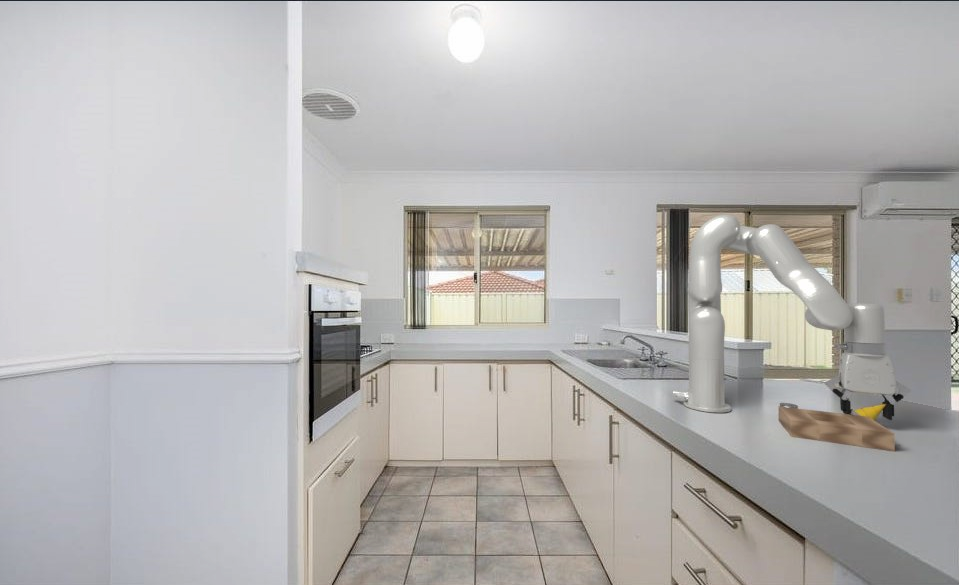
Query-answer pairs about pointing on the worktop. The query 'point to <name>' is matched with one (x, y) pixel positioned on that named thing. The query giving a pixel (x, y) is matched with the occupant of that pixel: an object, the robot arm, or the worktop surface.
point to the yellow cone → (869, 411)
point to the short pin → (788, 405)
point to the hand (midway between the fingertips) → (866, 415)
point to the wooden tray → (836, 428)
